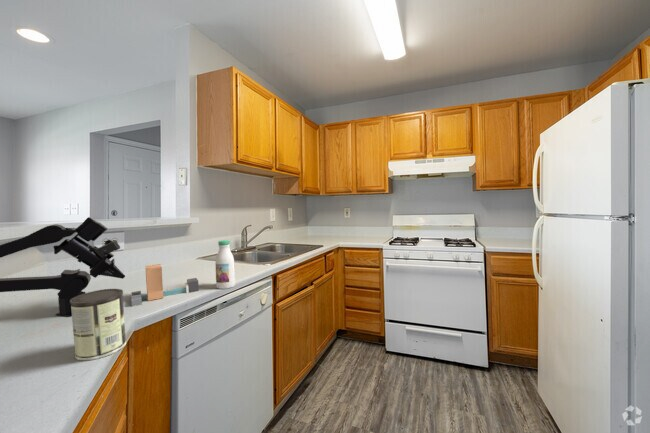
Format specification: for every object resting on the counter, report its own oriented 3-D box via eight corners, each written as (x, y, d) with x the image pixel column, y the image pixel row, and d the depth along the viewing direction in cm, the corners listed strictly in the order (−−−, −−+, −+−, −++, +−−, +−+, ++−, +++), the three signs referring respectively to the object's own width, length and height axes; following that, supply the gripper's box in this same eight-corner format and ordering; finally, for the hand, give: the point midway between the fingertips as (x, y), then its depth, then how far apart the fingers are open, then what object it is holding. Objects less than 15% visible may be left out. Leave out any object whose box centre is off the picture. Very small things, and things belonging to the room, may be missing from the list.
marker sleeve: (147, 300, 105) (146, 269, 104) (147, 295, 110) (145, 265, 110) (163, 297, 107) (161, 267, 107) (161, 293, 113) (160, 263, 112)
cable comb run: (131, 306, 100) (131, 294, 99) (131, 297, 110) (131, 286, 109) (200, 293, 113) (200, 282, 112) (195, 285, 123) (194, 276, 122)
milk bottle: (227, 283, 126) (225, 239, 125) (239, 285, 122) (237, 240, 121) (212, 287, 119) (210, 241, 118) (224, 290, 115) (222, 242, 114)
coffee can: (96, 340, 75) (92, 289, 75) (135, 338, 76) (132, 287, 75) (62, 362, 65) (57, 303, 64) (107, 360, 65) (103, 301, 65)
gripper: (100, 236, 91) (142, 264, 98) (104, 231, 107) (141, 256, 114) (69, 263, 87) (115, 290, 94) (79, 254, 103) (118, 278, 110)
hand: (124, 277), depth 103 cm, fingers closed
